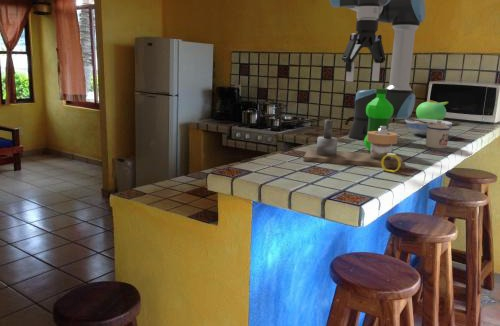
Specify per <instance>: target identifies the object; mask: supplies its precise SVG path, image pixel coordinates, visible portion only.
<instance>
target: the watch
mask: <svg viewBox="0 0 500 326" xmlns="http://www.w3.org/2000/svg"><path fill="white" fill-rule="evenodd" d="M396 155H397V153H392V152H391V153H388V154H387V155H386V156H384V157H383V159H382V161H381V165H382V167H381V168H382V169H383V170H384V171H385V172H391V173H395V172H397V171H399V170H400V166H401V161H400V159H399V157H397V156H396ZM387 156H390V157H395V158H396V159H397V160H398V162H399V163H398V168H396V169H395V170H392V169H388V168H387V167H384V164H383V163H384V159H385V158H386V157H387Z"/></svg>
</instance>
